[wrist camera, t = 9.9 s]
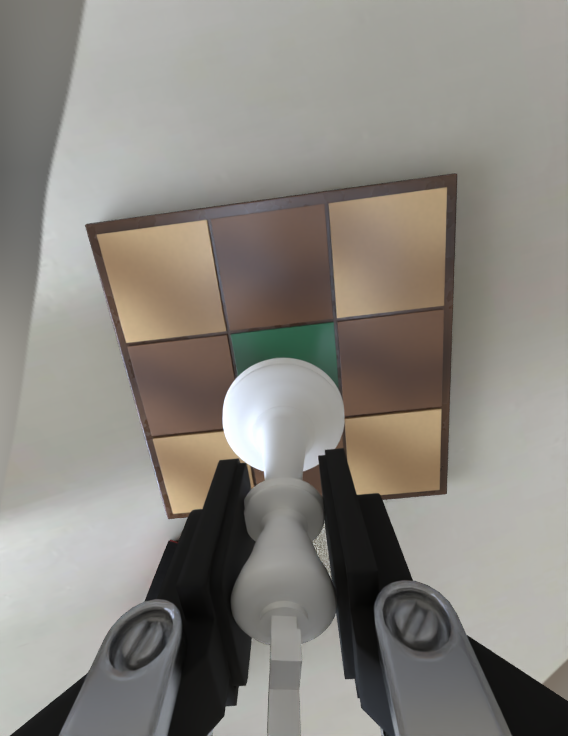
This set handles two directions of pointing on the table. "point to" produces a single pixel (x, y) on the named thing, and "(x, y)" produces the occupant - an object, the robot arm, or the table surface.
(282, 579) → the chess piece
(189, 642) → the robot arm
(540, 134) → the table surface
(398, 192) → the board
